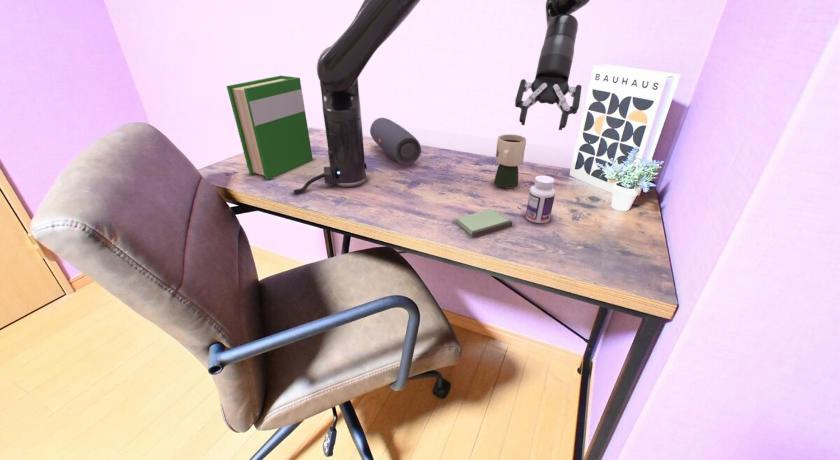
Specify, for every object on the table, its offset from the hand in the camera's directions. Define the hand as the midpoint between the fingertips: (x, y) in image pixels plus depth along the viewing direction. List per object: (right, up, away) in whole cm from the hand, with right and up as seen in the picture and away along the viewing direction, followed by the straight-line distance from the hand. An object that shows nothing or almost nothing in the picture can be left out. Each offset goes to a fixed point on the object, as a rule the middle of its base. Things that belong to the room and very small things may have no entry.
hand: (541, 126), depth 86 cm
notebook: (-14, -23, -4) cm, 27 cm away
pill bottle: (-1, -22, -1) cm, 22 cm away
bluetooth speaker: (-37, -1, +32) cm, 49 cm away
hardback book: (-69, -6, +24) cm, 74 cm away
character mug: (-5, -12, +13) cm, 19 cm away
